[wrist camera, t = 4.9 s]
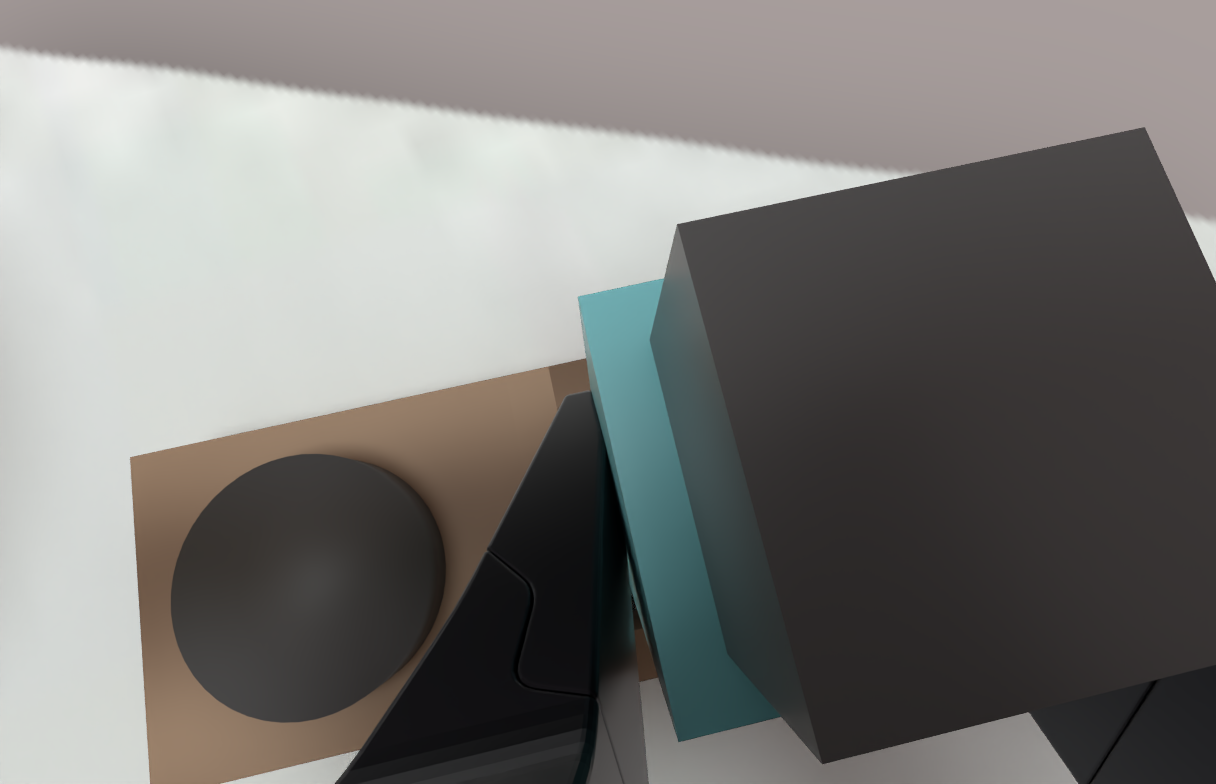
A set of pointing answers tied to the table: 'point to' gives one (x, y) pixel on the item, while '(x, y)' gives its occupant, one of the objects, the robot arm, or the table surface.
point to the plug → (919, 448)
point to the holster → (319, 567)
